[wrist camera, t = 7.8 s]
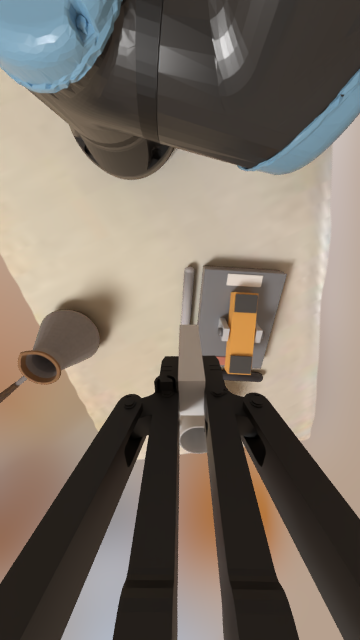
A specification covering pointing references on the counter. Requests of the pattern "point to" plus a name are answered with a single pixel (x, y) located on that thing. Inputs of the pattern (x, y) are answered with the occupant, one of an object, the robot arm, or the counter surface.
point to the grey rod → (187, 295)
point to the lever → (241, 333)
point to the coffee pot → (57, 348)
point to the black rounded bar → (243, 377)
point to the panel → (217, 307)
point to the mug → (193, 433)
